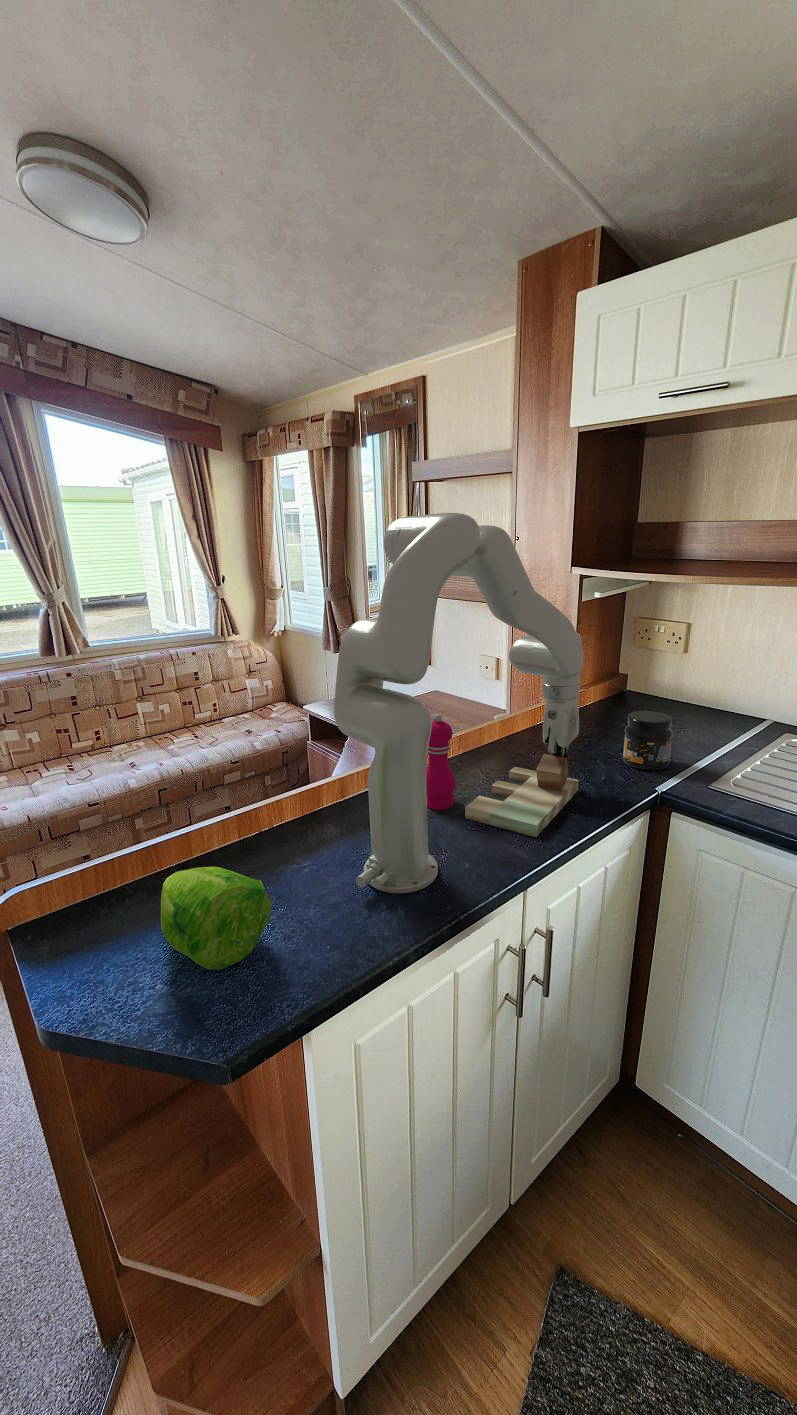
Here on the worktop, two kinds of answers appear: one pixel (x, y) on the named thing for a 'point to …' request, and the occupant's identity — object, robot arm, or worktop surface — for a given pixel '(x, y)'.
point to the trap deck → (521, 803)
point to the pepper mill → (439, 767)
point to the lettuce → (213, 915)
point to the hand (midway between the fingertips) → (558, 770)
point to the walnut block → (552, 772)
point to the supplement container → (648, 740)
